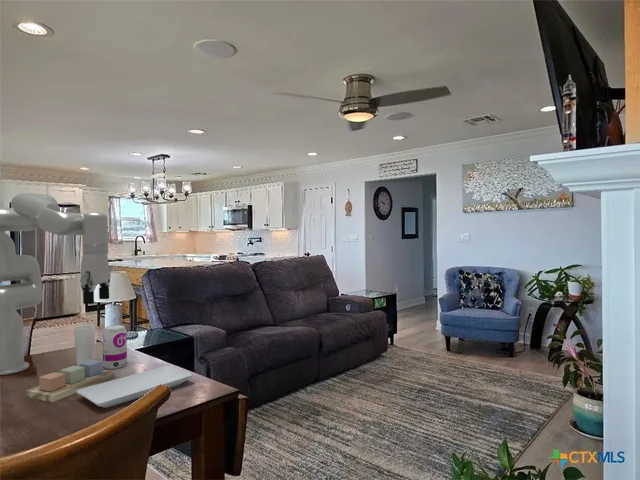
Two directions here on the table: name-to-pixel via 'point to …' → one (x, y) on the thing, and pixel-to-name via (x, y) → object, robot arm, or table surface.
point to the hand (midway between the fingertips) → (96, 301)
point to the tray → (133, 386)
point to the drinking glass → (84, 343)
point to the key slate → (92, 367)
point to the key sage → (73, 374)
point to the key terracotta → (52, 381)
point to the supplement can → (114, 346)
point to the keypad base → (68, 387)
